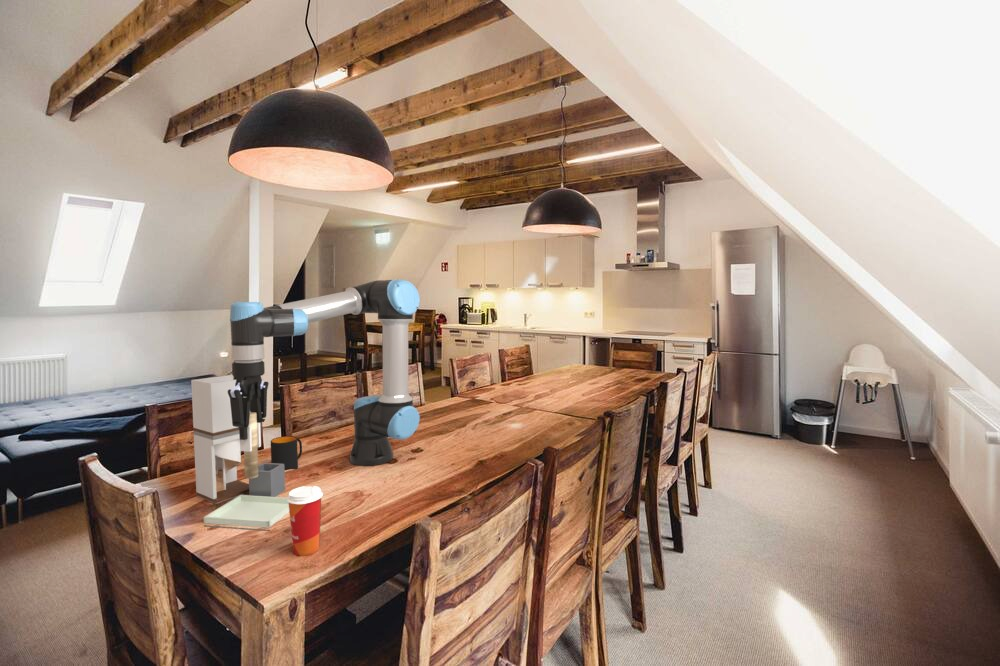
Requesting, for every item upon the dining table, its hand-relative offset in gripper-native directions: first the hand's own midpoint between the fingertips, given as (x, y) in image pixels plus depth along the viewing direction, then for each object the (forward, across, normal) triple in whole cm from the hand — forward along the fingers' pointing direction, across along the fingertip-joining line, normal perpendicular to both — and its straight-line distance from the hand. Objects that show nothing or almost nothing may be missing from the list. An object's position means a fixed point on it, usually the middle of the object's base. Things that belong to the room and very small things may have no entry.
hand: (251, 448), depth 126 cm
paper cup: (+19, +14, +23) cm, 33 cm away
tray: (+19, 0, 0) cm, 19 cm away
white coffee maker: (+19, -11, -16) cm, 28 cm away
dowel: (+8, 0, 0) cm, 8 cm away
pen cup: (+19, -12, -4) cm, 23 cm away
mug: (+19, -36, -12) cm, 42 cm away
